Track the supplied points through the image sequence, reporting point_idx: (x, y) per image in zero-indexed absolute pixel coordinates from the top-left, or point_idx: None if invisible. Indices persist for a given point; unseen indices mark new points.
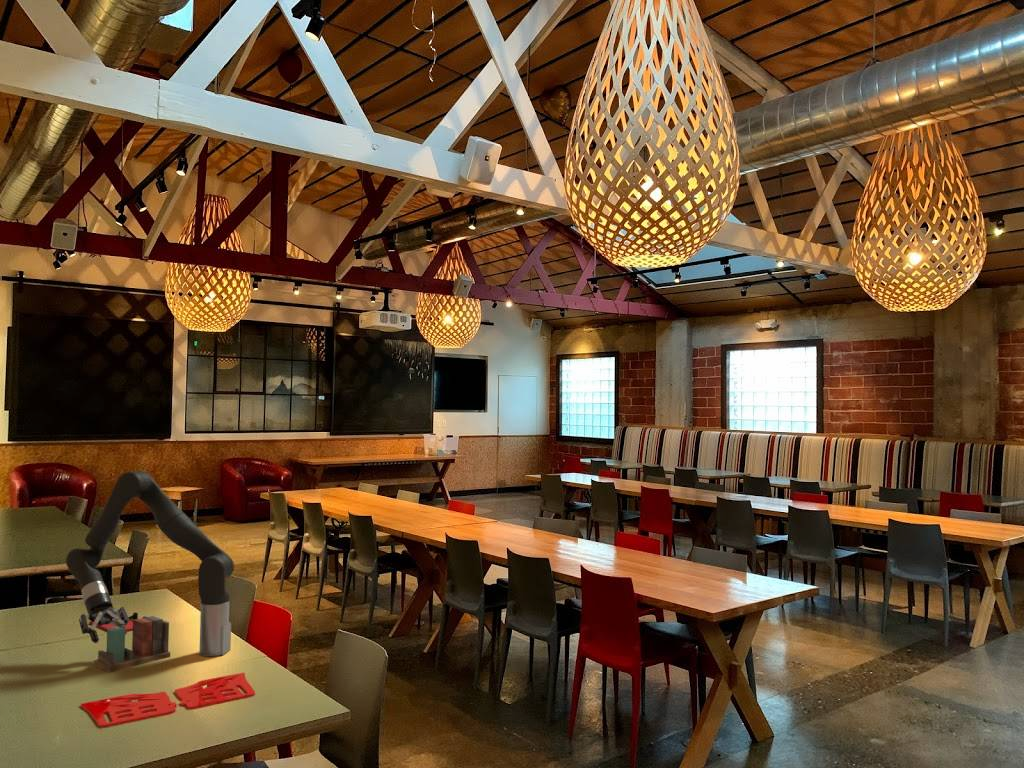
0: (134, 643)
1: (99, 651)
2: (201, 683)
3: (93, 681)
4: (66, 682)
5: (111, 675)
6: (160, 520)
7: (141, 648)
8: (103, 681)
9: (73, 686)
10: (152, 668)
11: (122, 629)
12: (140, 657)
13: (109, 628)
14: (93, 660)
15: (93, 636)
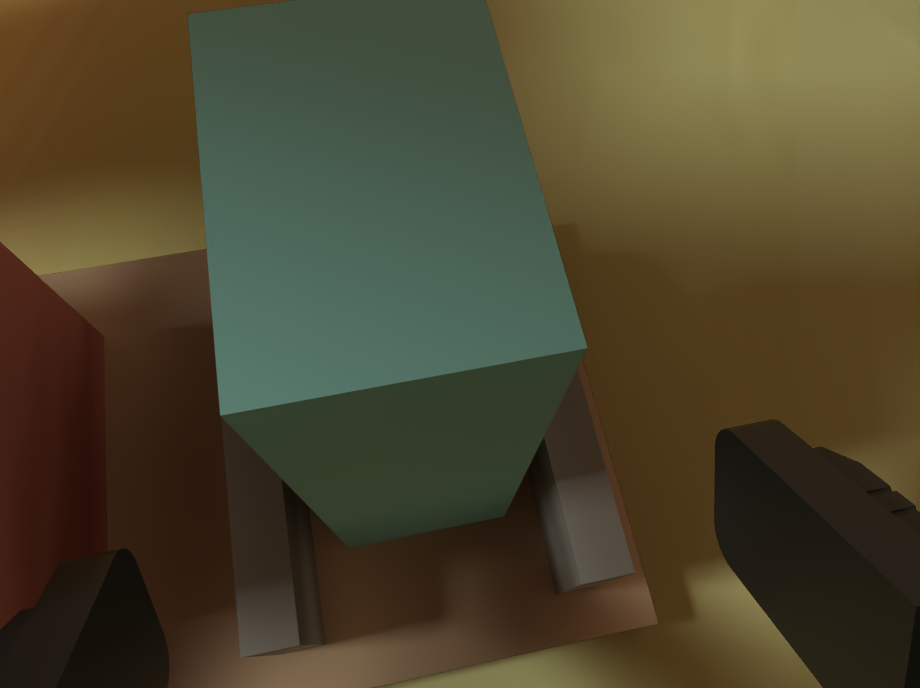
0: (21, 540)
1: (621, 525)
2: None
3: (687, 64)
4: (916, 174)
5: (522, 122)
6: None
7: (45, 303)
8: (611, 19)
9: (849, 44)
10: (148, 89)
11: (244, 42)
12: (119, 340)
13: (513, 366)
14: (657, 622)
15: (876, 498)
